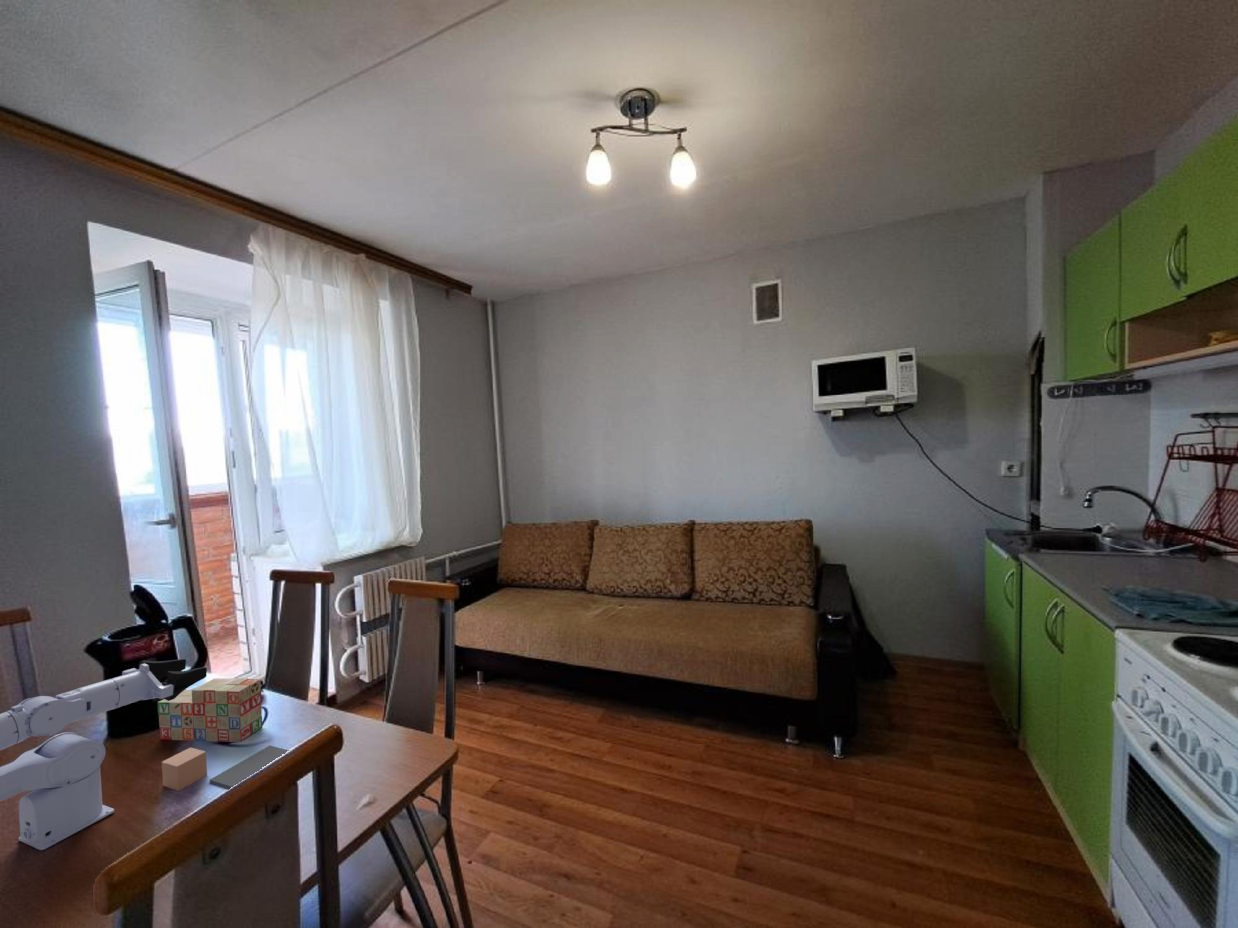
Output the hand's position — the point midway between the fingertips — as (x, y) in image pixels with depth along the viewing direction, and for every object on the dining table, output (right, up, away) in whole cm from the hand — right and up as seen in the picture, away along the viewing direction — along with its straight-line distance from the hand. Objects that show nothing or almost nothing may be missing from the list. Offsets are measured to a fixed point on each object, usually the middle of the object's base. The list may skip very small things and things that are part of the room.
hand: (195, 667), depth 106 cm
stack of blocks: (-5, -21, +10) cm, 24 cm away
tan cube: (+4, -20, -7) cm, 22 cm away
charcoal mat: (+18, -20, -4) cm, 27 cm away
